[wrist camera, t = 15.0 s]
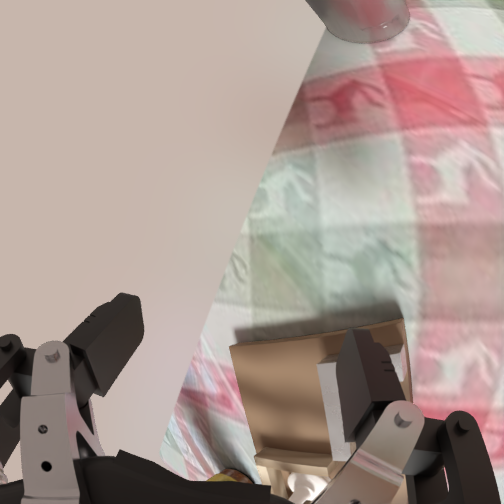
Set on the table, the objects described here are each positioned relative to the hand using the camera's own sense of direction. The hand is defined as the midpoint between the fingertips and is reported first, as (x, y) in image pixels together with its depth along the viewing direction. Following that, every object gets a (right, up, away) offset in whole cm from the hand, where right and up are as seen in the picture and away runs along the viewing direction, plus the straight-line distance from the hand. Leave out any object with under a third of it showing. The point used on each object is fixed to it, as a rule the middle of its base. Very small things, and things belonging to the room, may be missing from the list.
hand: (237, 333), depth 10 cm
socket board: (+8, -15, +10) cm, 20 cm away
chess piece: (+6, -20, +9) cm, 23 cm away
